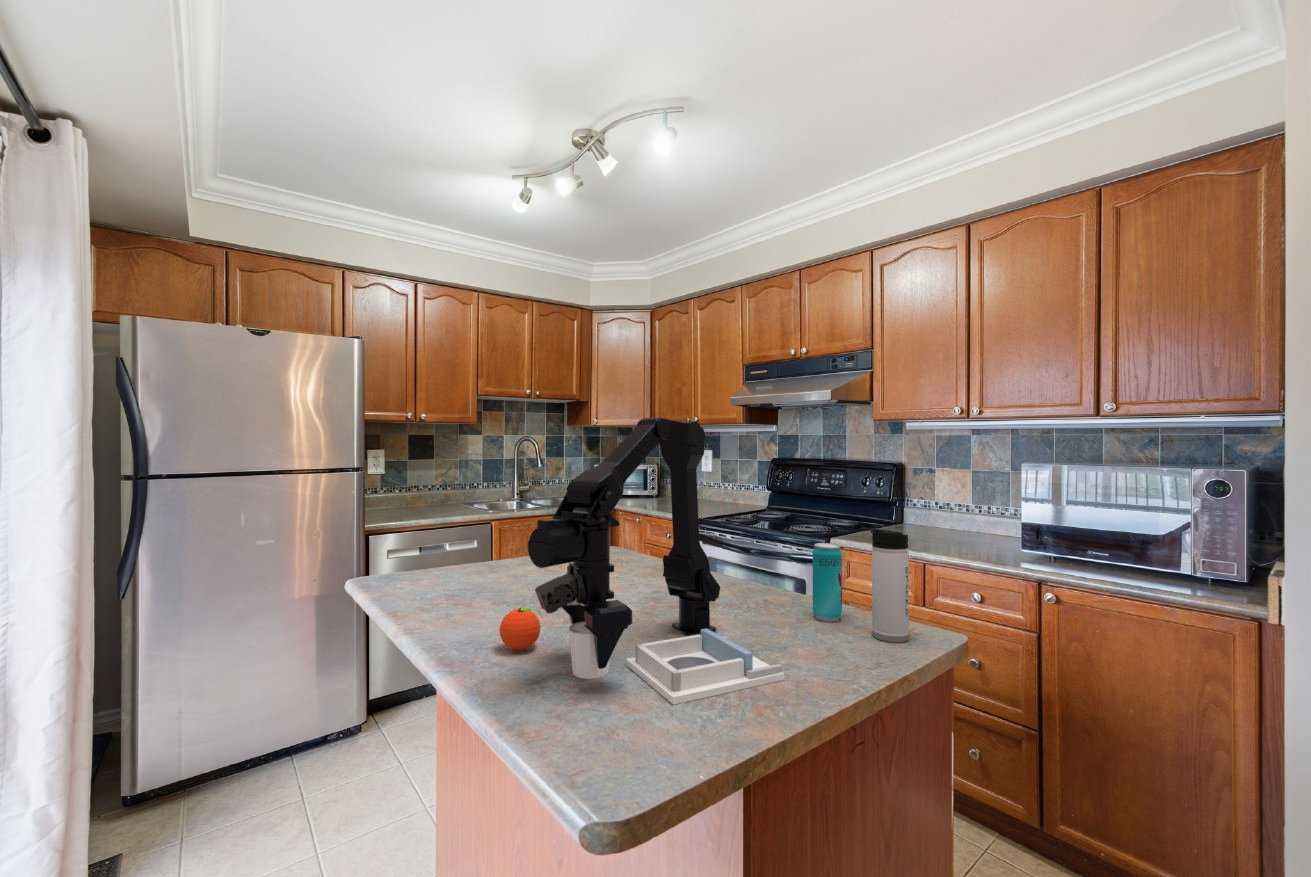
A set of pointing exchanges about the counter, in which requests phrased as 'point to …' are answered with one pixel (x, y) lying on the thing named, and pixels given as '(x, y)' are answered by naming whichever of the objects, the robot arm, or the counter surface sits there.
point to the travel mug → (890, 586)
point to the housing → (695, 670)
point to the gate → (725, 649)
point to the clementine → (520, 629)
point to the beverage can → (827, 582)
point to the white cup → (584, 653)
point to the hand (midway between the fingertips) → (591, 657)
